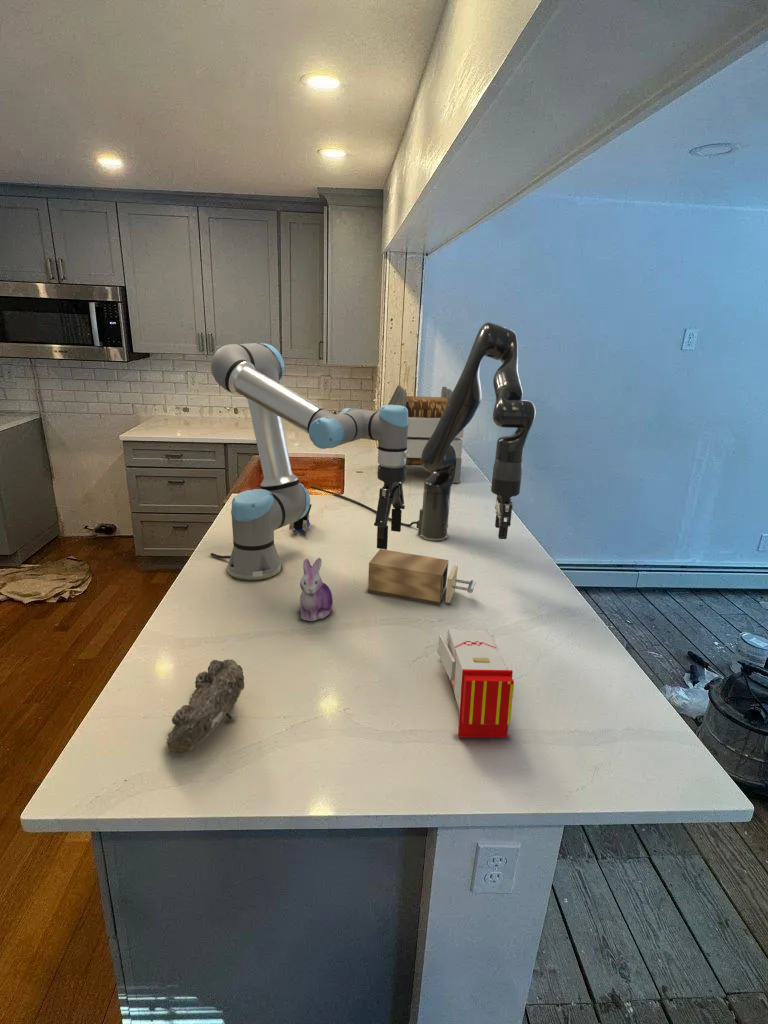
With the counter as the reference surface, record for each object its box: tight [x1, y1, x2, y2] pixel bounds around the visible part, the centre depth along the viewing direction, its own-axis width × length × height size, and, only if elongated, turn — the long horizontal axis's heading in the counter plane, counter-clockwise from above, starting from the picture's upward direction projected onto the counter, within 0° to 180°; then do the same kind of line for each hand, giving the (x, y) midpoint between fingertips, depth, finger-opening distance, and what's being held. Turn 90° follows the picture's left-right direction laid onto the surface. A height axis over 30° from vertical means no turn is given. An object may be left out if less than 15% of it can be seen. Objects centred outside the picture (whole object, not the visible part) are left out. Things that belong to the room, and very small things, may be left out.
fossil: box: [166, 658, 245, 754], centre depth 106 cm, size 22×10×15 cm
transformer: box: [387, 384, 465, 484], centre depth 268 cm, size 34×33×41 cm
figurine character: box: [288, 503, 313, 535], centre depth 199 cm, size 7×8×15 cm
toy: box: [437, 628, 515, 738], centre depth 117 cm, size 12×13×30 cm
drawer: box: [440, 564, 476, 604], centre depth 157 cm, size 25×9×7 cm, turn 73°
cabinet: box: [367, 549, 450, 606], centre depth 159 cm, size 20×10×9 cm, turn 73°
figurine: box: [299, 557, 333, 622], centre depth 143 cm, size 9×10×15 cm
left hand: (389, 539), depth 157 cm, fingers open, 13 cm apart
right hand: (500, 532), depth 155 cm, fingers open, 8 cm apart
